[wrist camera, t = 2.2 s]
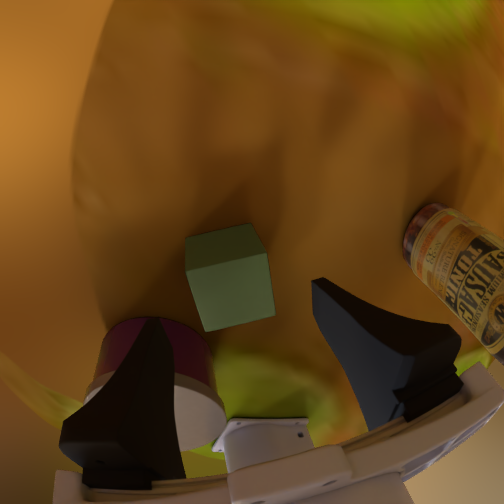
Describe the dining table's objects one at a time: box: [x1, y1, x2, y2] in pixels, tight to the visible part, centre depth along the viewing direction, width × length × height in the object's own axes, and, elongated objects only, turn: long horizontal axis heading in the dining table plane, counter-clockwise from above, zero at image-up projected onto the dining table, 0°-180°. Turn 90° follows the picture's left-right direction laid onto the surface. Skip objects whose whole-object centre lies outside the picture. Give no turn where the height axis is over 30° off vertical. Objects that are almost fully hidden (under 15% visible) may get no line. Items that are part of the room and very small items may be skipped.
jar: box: [83, 317, 227, 451], centre depth 18 cm, size 10×10×6 cm
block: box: [185, 223, 276, 332], centre depth 16 cm, size 4×4×4 cm
